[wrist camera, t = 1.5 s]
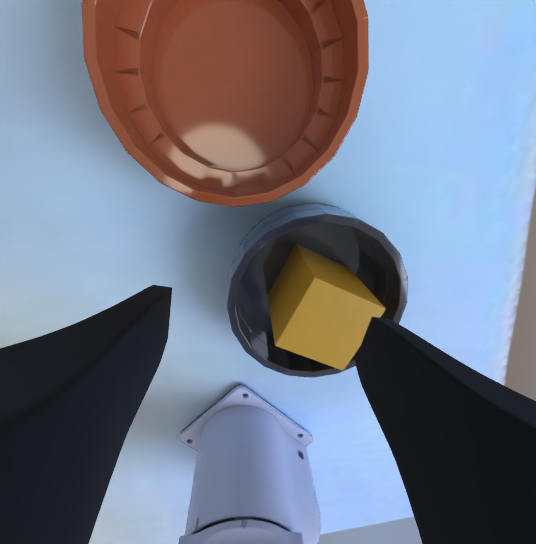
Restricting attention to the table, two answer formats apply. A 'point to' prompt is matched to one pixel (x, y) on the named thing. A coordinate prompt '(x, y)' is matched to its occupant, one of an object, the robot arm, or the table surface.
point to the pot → (325, 241)
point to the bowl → (228, 89)
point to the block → (320, 308)
